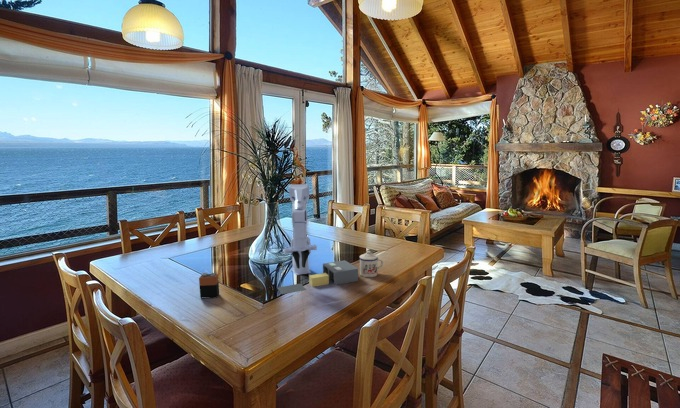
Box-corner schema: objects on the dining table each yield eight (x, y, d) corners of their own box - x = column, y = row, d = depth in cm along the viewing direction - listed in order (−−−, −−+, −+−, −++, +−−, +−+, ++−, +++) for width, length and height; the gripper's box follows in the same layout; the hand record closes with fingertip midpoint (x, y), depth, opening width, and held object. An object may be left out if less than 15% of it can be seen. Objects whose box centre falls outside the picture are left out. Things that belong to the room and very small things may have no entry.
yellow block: (309, 284, 157) (309, 275, 156) (325, 282, 160) (325, 272, 159) (312, 288, 153) (312, 278, 152) (328, 285, 156) (328, 275, 155)
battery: (203, 294, 147) (201, 272, 145) (219, 293, 147) (218, 271, 146) (200, 298, 142) (198, 275, 141) (217, 298, 143) (215, 274, 142)
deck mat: (276, 288, 152) (276, 287, 152) (300, 284, 157) (300, 283, 157) (281, 295, 145) (281, 294, 145) (306, 290, 150) (306, 289, 150)
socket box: (322, 275, 168) (322, 263, 167) (345, 271, 173) (345, 259, 172) (334, 285, 155) (334, 272, 155) (358, 280, 160) (358, 268, 159)
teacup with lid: (362, 278, 163) (362, 254, 162) (357, 272, 172) (357, 249, 170) (386, 276, 166) (386, 252, 164) (379, 270, 175) (380, 247, 173)
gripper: (286, 241, 143) (287, 272, 145) (318, 237, 149) (319, 267, 151) (281, 237, 149) (282, 267, 151) (313, 234, 155) (313, 263, 157)
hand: (300, 267), depth 151 cm, fingers closed
